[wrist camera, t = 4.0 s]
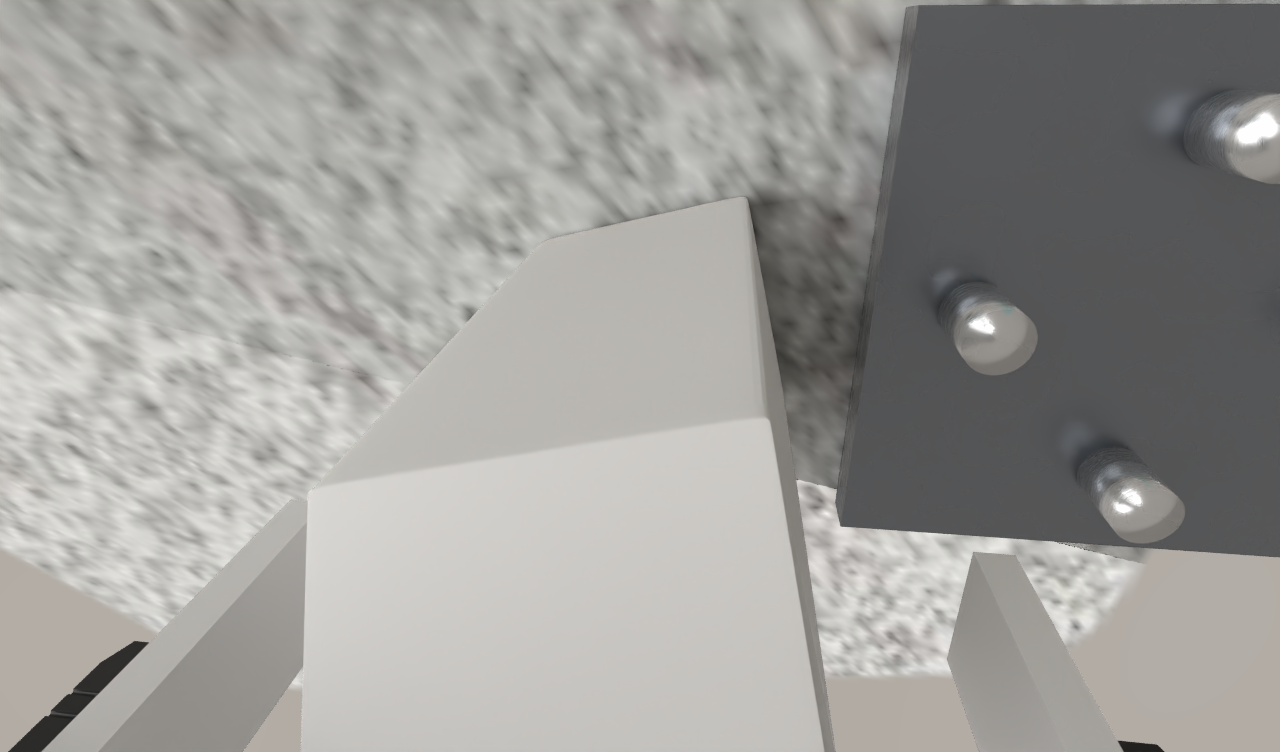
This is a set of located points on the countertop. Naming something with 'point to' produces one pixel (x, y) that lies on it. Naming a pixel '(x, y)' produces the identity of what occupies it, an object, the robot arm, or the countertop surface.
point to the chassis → (1076, 281)
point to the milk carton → (577, 521)
